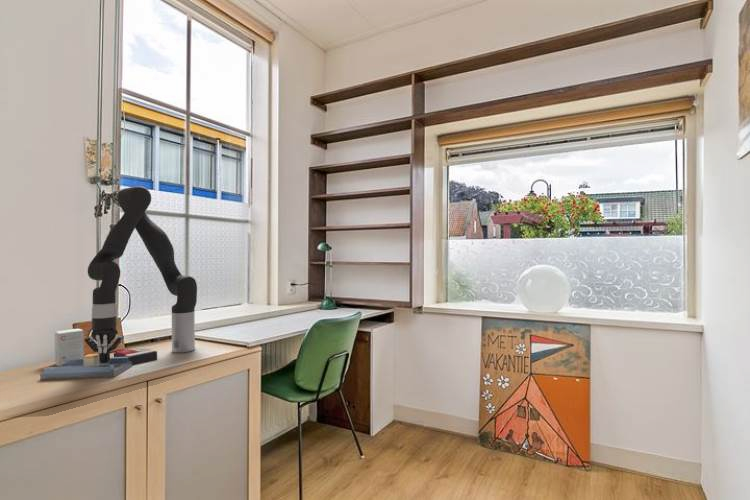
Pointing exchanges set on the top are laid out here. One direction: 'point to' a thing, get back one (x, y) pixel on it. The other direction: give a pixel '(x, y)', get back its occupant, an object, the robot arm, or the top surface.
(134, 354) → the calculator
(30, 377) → the top surface
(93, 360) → the breaker toggle
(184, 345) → the robot arm
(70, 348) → the small box
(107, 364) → the panel
